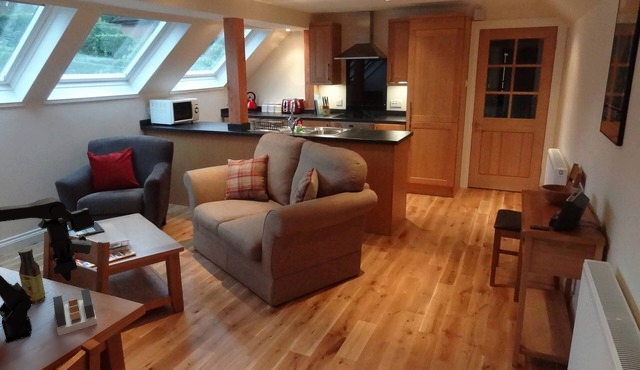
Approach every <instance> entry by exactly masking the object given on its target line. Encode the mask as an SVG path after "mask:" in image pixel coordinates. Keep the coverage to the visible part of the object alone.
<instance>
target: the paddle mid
mask: <svg viewBox="0 0 640 370" xmlns="http://www.w3.org/2000/svg"><path fill="white" fill-rule="evenodd" d="M69 309H70V313H74V312H77V311H79V306H78V305H74V306H71V307H69Z"/></svg>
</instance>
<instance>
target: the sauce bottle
mask: <svg viewBox="0 0 640 370" xmlns="http://www.w3.org/2000/svg"><path fill="white" fill-rule="evenodd" d="M33 253H34V251H33V248H32V247H30V246H27V247H23V248H20V249H18V255H19V258H20V265H19V270H18V275H19V280H20V285H21V287H22V288H23V289H25V290H26V291H27V292H28V293H29V294H30V295H31V296H32V297H31V298H30V299H31V301H32V305H37V304H40V303H41V302H43V301H44V300H45V299H46V290H45V287H44V286H45V285H44V281H43V277H42V272H41V269H40V265H39V263H38V262H37V261H36V260H35V258H34V254H33Z"/></svg>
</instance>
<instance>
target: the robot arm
mask: <svg viewBox="0 0 640 370" xmlns="http://www.w3.org/2000/svg"><path fill="white" fill-rule="evenodd" d="M25 219H40V220H41V221H40V222H39V223H38V224H37V227H38V228H40V229H42V230H43V229H46V232H47V236H48V241H49V247H50V250H51V255H52V260H53V264H52V269H53V272H54V273H53V274H55V275H59V274H60V275H61V276H62V278H63V279H64V280H65V281H67V282H69V281H70V282H71V279H72V278H71V277H72V271H75V270H77V269H78V264H77V259H76V257H75V254H83V255H84V254H85V255H90V254H91V249H92V245H93V244H92V241H91V240H90V239H87V238H86V237H87V236H86V235H82V234H80V235H79V236H78V237H77V238H75V239H72V236H71V235H70V232H69V230H70V231H73V232H74V233H79V232H81V231H85V230H89V229H91V228H94V227H95V220H94V218H93V215H92V214H91V212H90V209H89V208H87V207H84V208H82V209H78V210H74V211H70V210H67V207H66V205H65V203H64V202H62V201H61V200H58V199H57V198H55V197H45V198H42V199H37V200H35V201H33V202H31V203H26V204H25V203H24V204H18V205H17V204H16V205H7V206H0V223H1V222H3V223H4V222H12V221H18V220H25ZM31 297H32V296H31V295H30V294H29V293H28V292H27V291H26V290H25V289H23V288H22V285H21V283H19V282H18V281H16V282H15V283H14V285H13V284H12V283H10V282H8V281H7V280H6V279H5V278H4V277H3V276H2V275H1V274H0V298H1V300H2V302H3V303H2V304H1V306H0V317H1V327H2V330H3V334H4V338H5V339H4V341H5V344H8V343H11V342H15V341H17V340H18V341H19V340H22V339H26V338H29V337H31V333H32V331H33V326H32V321H31V317H30V315H28V313H29V311H30V310H31V308H32V306H33V304H32V301H31V299H30V298H31Z"/></svg>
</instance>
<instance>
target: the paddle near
mask: <svg viewBox="0 0 640 370" xmlns="http://www.w3.org/2000/svg"><path fill="white" fill-rule="evenodd" d="M70 315H71V320H75V319H78V318H81V316H80V311H77V312H74V313H70Z"/></svg>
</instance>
